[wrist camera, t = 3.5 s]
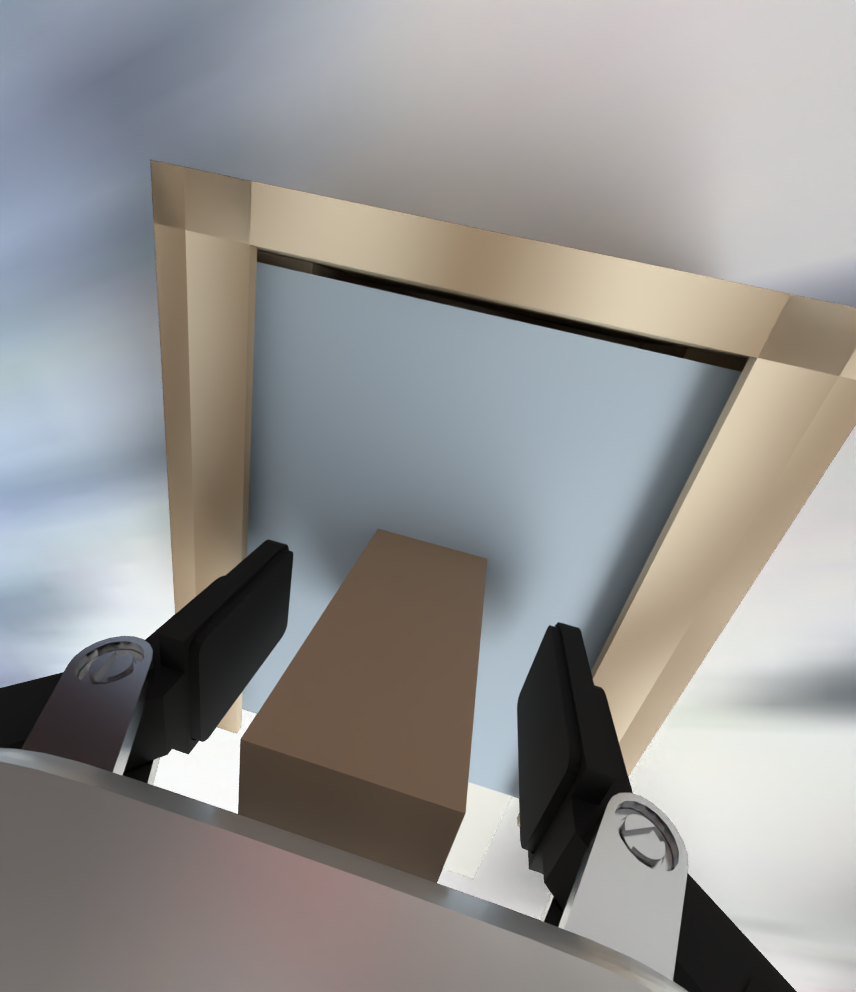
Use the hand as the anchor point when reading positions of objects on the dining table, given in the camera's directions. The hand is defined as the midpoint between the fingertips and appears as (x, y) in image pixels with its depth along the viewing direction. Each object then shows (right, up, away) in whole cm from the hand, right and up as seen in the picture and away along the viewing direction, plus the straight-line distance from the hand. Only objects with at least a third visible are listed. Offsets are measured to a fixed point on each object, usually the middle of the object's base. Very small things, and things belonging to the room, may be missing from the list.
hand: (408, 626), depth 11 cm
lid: (+1, +1, +3) cm, 3 cm away
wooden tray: (+2, +3, +7) cm, 8 cm away
